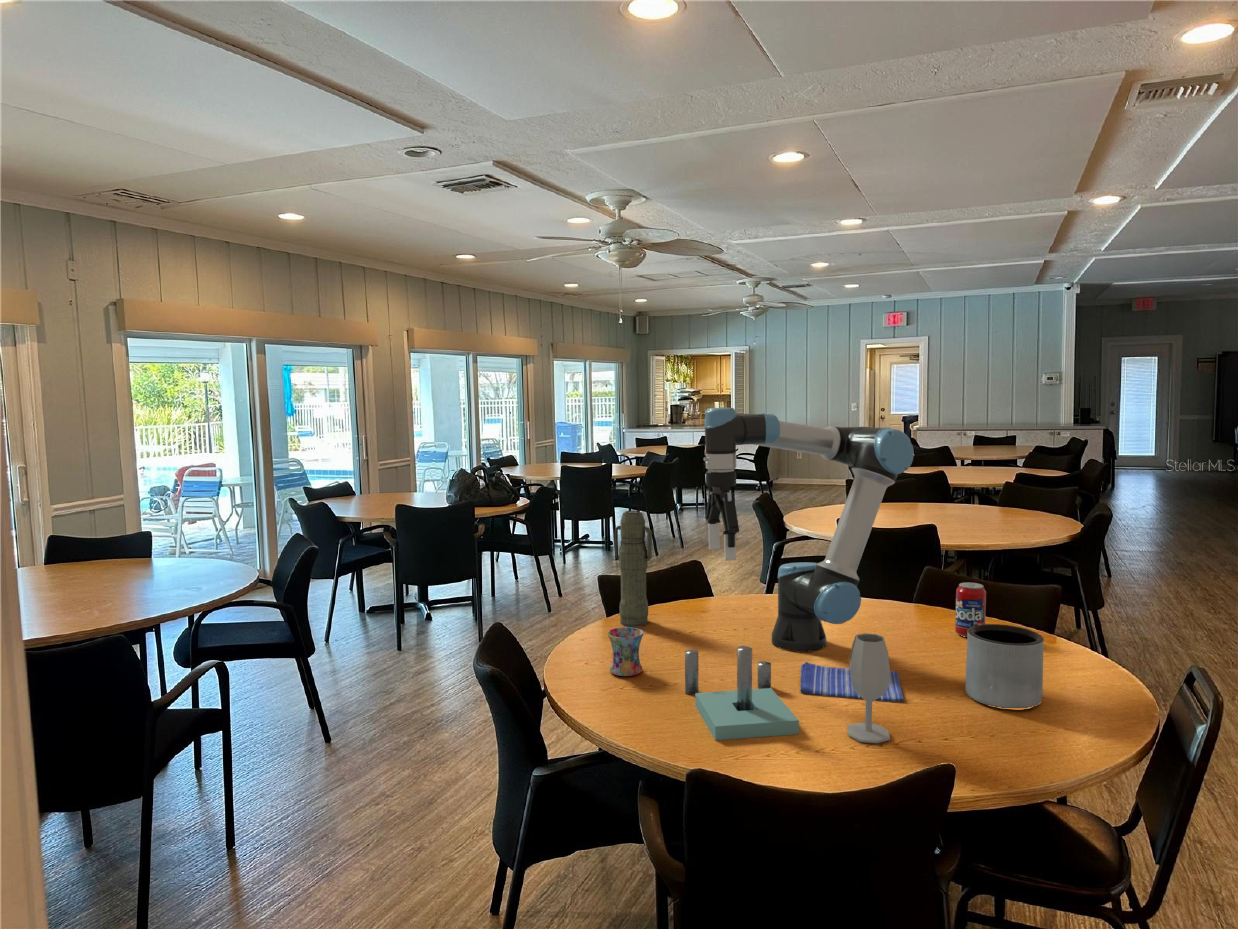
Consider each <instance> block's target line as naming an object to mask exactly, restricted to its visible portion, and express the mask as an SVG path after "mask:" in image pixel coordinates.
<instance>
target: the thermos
mask: <svg viewBox="0 0 1238 929" xmlns="http://www.w3.org/2000/svg"><path fill="white" fill-rule="evenodd" d="M619 522H620V525H617V526H616V527H615V529H614V532H613V533H614V534H613V537H614V542H613V543H614V559H615V560H617V561H618V563H619V564H618V567H619V570H620V602H619V616H620V618H619V619H620V621H619V623H620V625H621V626H623V627H633V628H639V627H643V626H646V625H648V623H649V621H648V619H649V618H648V615H649V603H648V602H649V601H648V599H647V570H648V569H647V568H648V562H649V561H650V560H651V559H652V558H653V556H652V555H653V554H652V550H653V549H652V546H653V541H652V540H653V531H652V530H651V529H650V527H648V526H646V521H645V517H644V515H643V512H642V511H640V510H626V511H624V512H622V515H621V518H620V521H619ZM618 530H619V531H620V539H621V540H620V546H619V531H618ZM646 533H647V545H646Z"/></svg>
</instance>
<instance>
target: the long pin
mask: <svg viewBox="0 0 1238 929" xmlns="http://www.w3.org/2000/svg"><path fill="white" fill-rule="evenodd" d="M736 650H737V651H736V659H737V660H736V664H737V665H736V673H737V674H736V685H737V686H736V690H737V711H746V710H752V689H753V648H752V647H751V646H746V645H745V646H744V645H743V646H738V647H737V648H736Z"/></svg>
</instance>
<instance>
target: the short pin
mask: <svg viewBox="0 0 1238 929" xmlns="http://www.w3.org/2000/svg"><path fill="white" fill-rule="evenodd" d="M765 688H771V689H772V663H771V662H769V661H763V660H762V661H761V660H760V661H758V662H757V689H765Z"/></svg>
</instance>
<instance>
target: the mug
mask: <svg viewBox="0 0 1238 929" xmlns="http://www.w3.org/2000/svg"><path fill="white" fill-rule="evenodd" d="M644 633H645V632H644V630H643V629H640V628H639V627H629V626H622V627H615V628H611V629H609V630H608V631H607V636H608V638H609V641H610V643H611V648H612V661H611V665H610V667H609V671H610V673H612V674H613V675H615V676H618V677H619V676H620V677H632V676H637V675H639V674H640V673H642V671H643V666H642V663H641V661H640V660H641V659H640V646H641V641H642V638H643V636H644Z"/></svg>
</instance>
